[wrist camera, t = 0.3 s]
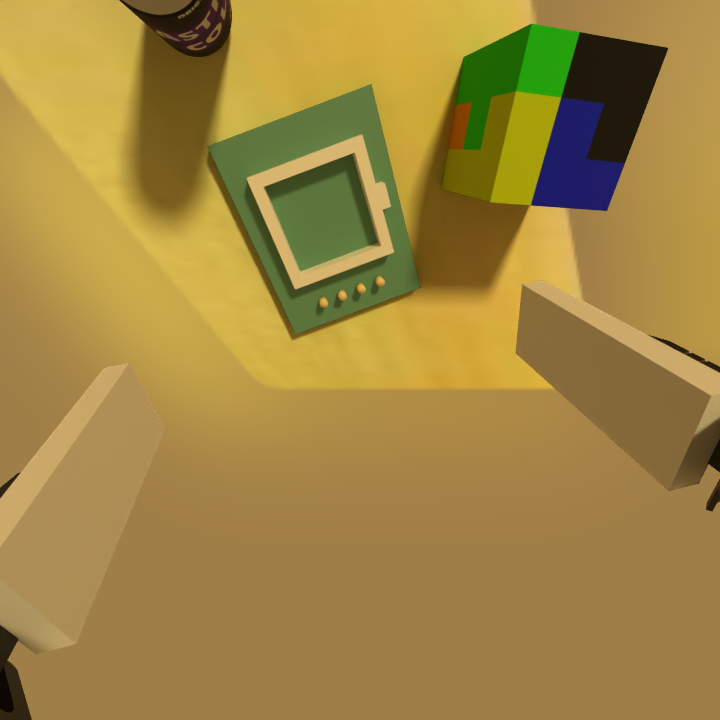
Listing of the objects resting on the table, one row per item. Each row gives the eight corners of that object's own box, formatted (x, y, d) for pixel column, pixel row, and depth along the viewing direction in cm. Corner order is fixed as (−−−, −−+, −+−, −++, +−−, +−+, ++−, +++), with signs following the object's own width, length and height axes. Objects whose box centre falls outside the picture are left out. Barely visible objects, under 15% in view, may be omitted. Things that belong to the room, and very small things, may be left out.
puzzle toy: (533, 196, 38) (606, 210, 29) (441, 188, 36) (490, 202, 27) (568, 73, 33) (668, 48, 24) (463, 57, 31) (531, 23, 22)
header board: (209, 146, 31) (203, 146, 29) (368, 86, 31) (375, 81, 28) (295, 329, 40) (296, 340, 38) (417, 283, 40) (425, 292, 38)
